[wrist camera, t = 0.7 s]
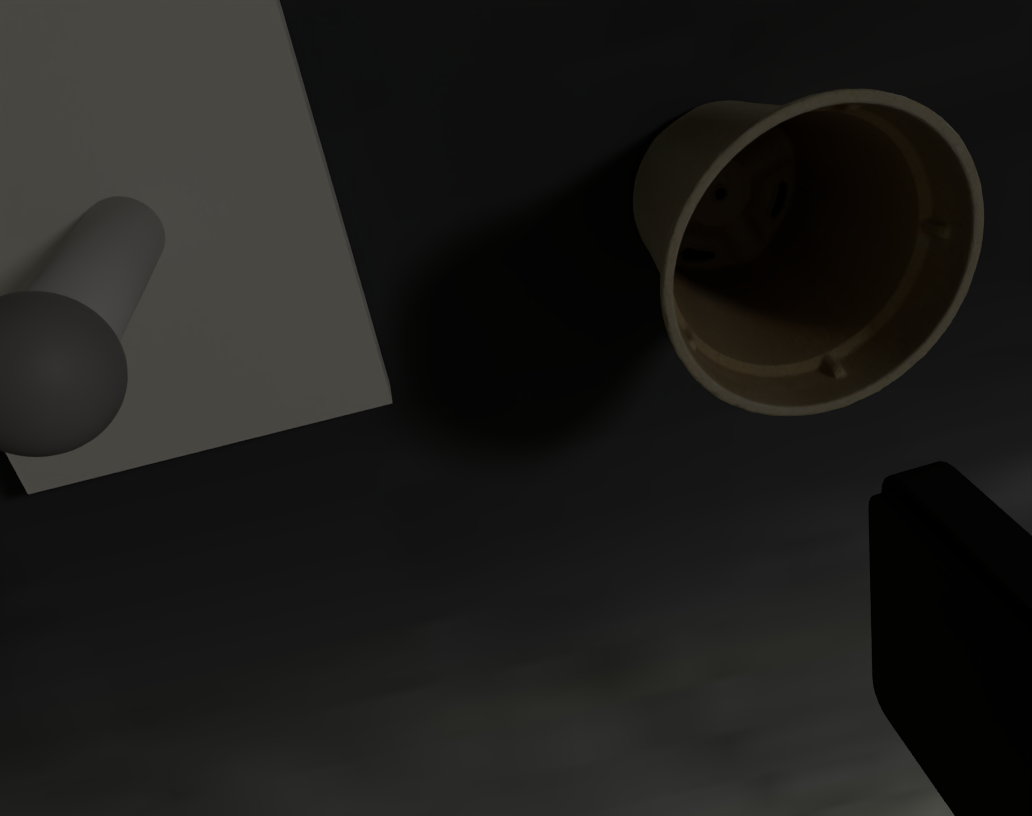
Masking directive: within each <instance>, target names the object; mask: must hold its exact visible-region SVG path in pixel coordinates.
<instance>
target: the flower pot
mask: <svg viewBox="0 0 1032 816" xmlns="http://www.w3.org/2000/svg"><path fill="white" fill-rule="evenodd" d="M782 182H785V183H786V197H785V199H784V204H783V206H782V208H781V210H780V211H779V212H778V213H777V214H776V215H775V216H771V212H772V209H773V206H774V203H775V200H776V197H777V194H778V188H779V184H780V183H782ZM720 188H723V189H724V190H725V196H724V197H723V198H721V199H717V198H716V196H715V191H716V190H717V189H720ZM981 189H982V188H981V184H980V180H979V177H978V174H977V170H976V168H975V165H974V163H973V160H972V158H971V156H970V154H969V152H968V150H967V148H966V147H965V144H964V143H963V141H962V140H961V138H960V136H959V135H958V134H957V133H956V132H955V131H954V130H953V128H952V127H951V126H950V125H949V124H948V123H947V122H946V121H945V120H944V119H943V118H942V117H940V116H938V115H937V114H936V113H935V112H933V111H932V110H930V109H929V108H928V107H925V106H924V105H922V104H920V103H918V102H915V101H913V100H911V99H909V98H906V97H904V96H901V95H896V94H892V93H888V92H884V91H878V90H872V89H840V90H833V91H827V92H822V93H818V94H814V95H809V96H806V97H803V98H801V99H798V100H795V101H792V102H790V103H787V104H785V105H769V104H758V103H748V102H742V101H718V102H712V103H708V104H704V105H701V106H698V107H696V108H694V109H693V110H691V111H689V112H688V113H686V114H685V115H683V116H682V117H680V118H679V119H677V120H676V121H675V122H673V123H672V124H671V125H669V126H668V127H667V128H666V129H665V130H663V131H662V132H661V133H660V134H659V135H658V136H657V137H656V138H655V139H654V141H653V142H652V144H651V145H650V147H649V148H648V150H647V152H646V154H645V156H644V158H643V160H642V162H641V164H640V166H639V169H638V172H637V175H636V179H635V184H634V191H633V212H634V217H635V222H636V225H637V228H638V231H639V234H640V236H641V239H642V241H643V243H644V245H645V246H646V248H647V249H648V251H649V252H650V254H651V256H652V258H653V260H654V262H655V264H656V266H657V268H658V270H659V272H660V298H661V307H662V314H663V319H664V323H665V326H666V330H667V333H668V336H669V338H670V341H671V343H672V345H673V347H674V349H675V351H676V353H677V355H678V356H679V358H680V360H681V361H682V363H683V364H684V366H685V367H686V368H687V370H688V371H689V372H690V374H691V375H692V376H693V377H694V378H695V379H696V380H697V381H698V382H699V383H700V384H701V385H702V386H703V387H704V388H705V389H707V390H708V391H709V392H711V393H712V394H713V395H715V396H716V397H717V398H719V399H721V400H723V401H725V402H727V403H729V404H731V405H734V406H736V407H740V408H743V409H745V410H747V411H750V412H756V413H761V414H767V415H774V416H800V415H812V414H818V413H822V412H827V411H830V410H833V409H838V408H842V407H845V406H848V405H850V404H852V403H854V402H856V401H858V400H861V399H863V398H865V397H867V396H869V395H871V394H873V393H875V392H878V391H880V390H881V389H882V388H883V387H885V386H888V385H889V384H890V383H891V382H893V381H894V380H896V379H897V378H898V377H900V376H901V375H903V374H904V373H905V372H906V371H907V370H908V369H910V368H911V367H912V366H913V365H914V364H915V363H916V362H917V361H918V360H920V359H921V358H922V357H924V356H925V355H926V353H927V352H928V351H929V350H930V349H931V347H932V346H933V345H934V344H935V343H936V342H937V340H938V339H939V338H940V336H941V335H942V334H943V333H944V332H945V331H946V329H947V327H948V326H949V325H950V323H951V322H952V319H953V318H954V317H955V315H956V313H957V311H958V309H959V307H960V305H961V303H962V302H963V300H964V297H965V296H966V295H967V294H966V293H967V292H968V290H969V286H970V283H971V281H972V278H973V274H974V271H975V269H976V265H977V261H978V258H979V253H980V250H981V243H982V238H983V225H984V209H983V205H984V204H983V198H982V192H981ZM687 248H692V249H695V250H698V251H710V252H713V253H714V257H713V258H707V259H704V260H691V259H684V258H682V256H683V254H682V252H683V251H684V250H685V249H687Z"/></svg>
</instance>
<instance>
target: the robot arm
mask: <svg viewBox="0 0 1032 816" xmlns="http://www.w3.org/2000/svg"><path fill="white" fill-rule="evenodd" d="M869 550H870V592H871V635H872V677H873V686H874V690H875V694H876V697H877V699H878V702H879V704H880V706H881V709H882V711H883V712H884V714H885V716H886V717H887V719H888V720H889V722H890V723H891V725H892V726H893V728H894V729H895V730H896V732H897V733H898V735H899V736H900V738H901V739H902V740H903V742H904V743H905V745H906V746H907V748H908V749H909V751H910V752H911V753H912V755H913V756H914V758H915V759H916V761H917V762H918V764H919V765H920V766H921V768H922V769H923V771H924V772H925V774H926V775H927V776H928V778H929V779H930V781H931V782H932V784H933V785H934V787H935V788H936V789H937V791H938V792H939V794H940V795H941V797H942V798H943V800H944V801H945V802H946V804H947V805H948V807H949V808H950V810H951V811H952V812H953V814H954V815H955V816H1032V536H1031V535H1030V534H1029V533H1028V532H1027V531H1025V530H1024V529H1023V528H1022V527H1021V526H1020V525H1019V524H1018V523H1016V522H1015V521H1014V520H1013V519H1012V518H1011V517H1010V516H1009V515H1007V514H1006V513H1005V512H1004V511H1003V510H1002V509H1001V508H1000V507H998V506H997V505H996V504H995V503H994V502H993V501H992V500H991V499H989V498H988V497H987V496H986V495H985V494H984V493H983V492H982V491H980V490H979V489H978V488H977V487H976V486H975V485H974V484H972V483H971V482H970V481H969V480H968V479H967V478H966V477H965V476H963V475H962V474H961V473H960V472H959V471H958V470H957V469H956V468H954V467H953V466H951V465H950V464H948V463H947V462H942V461H939V462H935V463H932V464H928V465H925V466H921V467H918V468H914V469H911V470H907V471H904V472H900V473H897V474H893V475H890V476H888V477H886V478H885V479H884V482H883V484H882V491H881V493H880V494H877V495H874V496H872V497H871V498H870V501H869Z"/></svg>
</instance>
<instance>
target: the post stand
mask: <svg viewBox="0 0 1032 816" xmlns="http://www.w3.org/2000/svg"><path fill="white" fill-rule="evenodd" d="M391 403H392V396H391V389H390V383H389V380H388V376H387V373H386V369H385V366H384V362H383V359H382V355H381V352H380V348H379V345H378V341H377V338H376V334H375V331H374V327H373V324H372V320H371V317H370V313H369V310H368V307H367V303H366V300H365V296H364V293H363V289H362V286H361V282H360V279H359V275H358V272H357V268H356V265H355V261H354V258H353V254H352V251H351V247H350V244H349V240H348V237H347V233H346V230H345V227H344V223H343V220H342V216H341V213H340V209H339V206H338V202H337V199H336V195H335V192H334V188H333V185H332V181H331V178H330V174H329V171H328V167H327V164H326V160H325V157H324V154H323V150H322V147H321V143H320V140H319V136H318V133H317V129H316V126H315V122H314V119H313V115H312V112H311V108H310V105H309V101H308V98H307V94H306V91H305V87H304V84H303V80H302V77H301V74H300V70H299V67H298V63H297V60H296V56H295V53H294V49H293V46H292V42H291V39H290V35H289V32H288V28H287V25H286V21H285V18H284V14H283V11H282V7H281V4H280V1H279V0H0V451H3V452H5V453H6V455H7V457H8V458H9V460H10V462H11V464H12V466H13V468H14V469H15V471H16V473H17V475H18V477H19V479H20V480H21V482H22V484H23V486H24V488H25V490H26V491H27V493H28V494H32V493H36V492H40V491H44V490H48V489H52V488H56V487H60V486H64V485H68V484H72V483H76V482H80V481H84V480H88V479H92V478H96V477H100V476H104V475H108V474H112V473H115V472H119V471H123V470H127V469H131V468H135V467H139V466H143V465H147V464H151V463H155V462H159V461H163V460H167V459H171V458H175V457H179V456H183V455H187V454H191V453H195V452H199V451H203V450H207V449H211V448H215V447H219V446H223V445H227V444H231V443H235V442H239V441H243V440H247V439H251V438H255V437H259V436H263V435H267V434H271V433H275V432H279V431H283V430H287V429H291V428H295V427H299V426H303V425H307V424H311V423H315V422H319V421H323V420H327V419H331V418H335V417H339V416H343V415H347V414H351V413H355V412H359V411H363V410H367V409H371V408H375V407H379V406H383V405H387V404H391Z"/></svg>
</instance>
